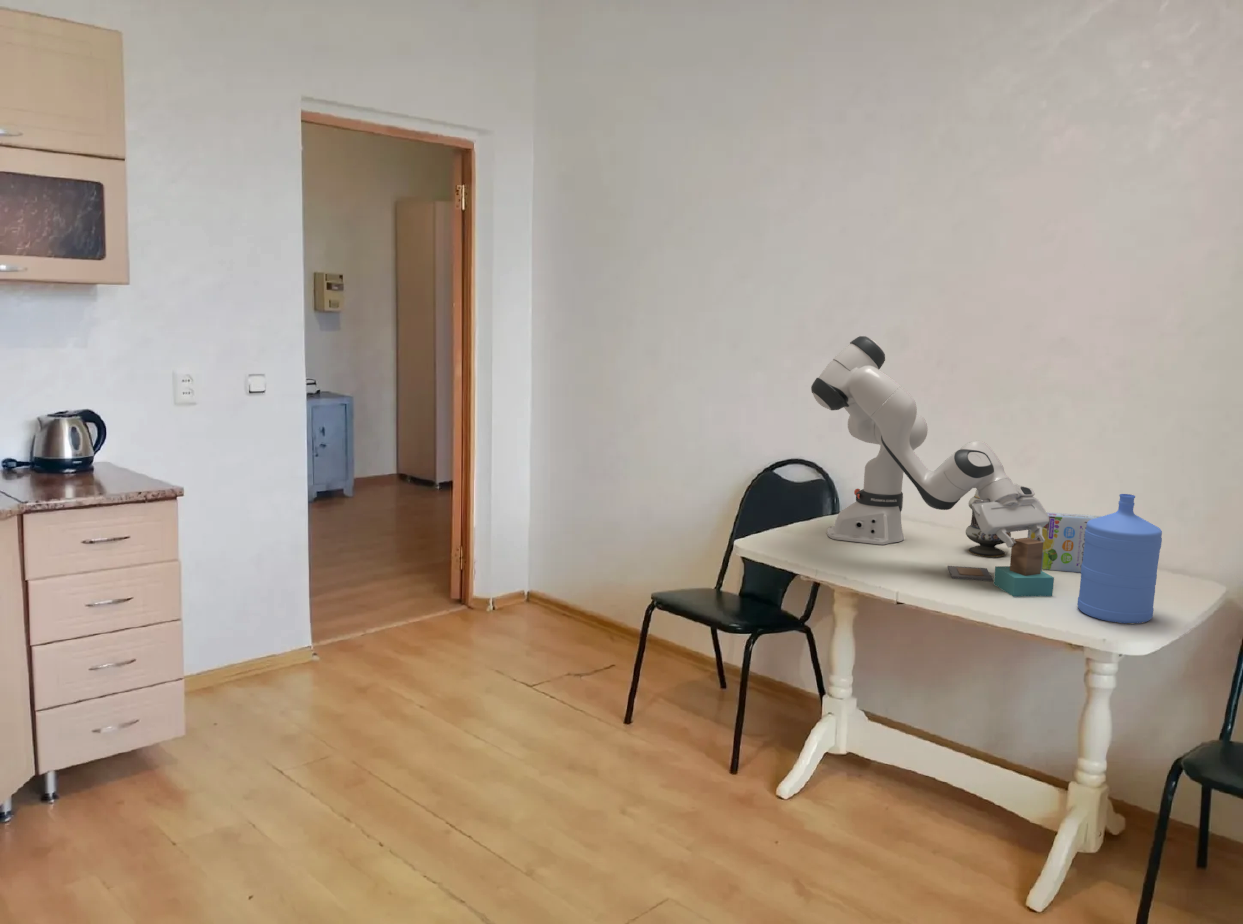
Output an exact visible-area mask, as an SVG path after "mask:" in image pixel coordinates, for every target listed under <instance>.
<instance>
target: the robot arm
mask: <svg viewBox="0 0 1243 924" xmlns="http://www.w3.org/2000/svg"><path fill="white" fill-rule="evenodd" d="M885 361H886V354H885V352H884V350H883V347H881V345H880V344H879V342H877V341H876V340H874V339H872V338H870V337H868V336H866V335H865V336H864V335H863V336H861V335H859V336H858V337H856V338H854V339H852V340H851V341H850V342H849V345H847V346H845V348H843V349H842V350H841V351H840V352H839V353H837V354H836V355H835V356H834V357H833V359H832V360H831V361H830V362H829V363H828V364H827V366H826V367H825V368H824V370H823V371H822V372H821V374H819V376H818V377H816V378H815V379H814V381H813V382H812V385H811V386H810V387H811V388H810V390H811V393H812V395H813V398H814V399H815V401H816V403H818V404H819V405H820V406H821V407H823V408H825V409H827V410H830V411H839V410H841V409H845V411H846V412H847V414H849V416H848V420H847V429H848V432H849V434H850V435H851V437H853V438H855V439H857V440H858V441H862V442H863V443H869V444H874V445H879V446H880V448H879V451H878V453H877V455H876V456H875V457H874V458H872V459H870V460H869V461H867V463H866V464H865V466H864V473H863V474H864V476H863V488H862V489H860V488H855V490H854V495H855V502H853V503H852V504H850V505H849V506H846V507H845V508H844V509H842V510H841V511H840V512H838V514H837V516H836V519H835V523H834V525H833V526H830V527H828V528H827V531H826V535H827V537H829V538H830V539H832V540H837V541H845V542H856V543H862V544H863V543H864V544H872V545H873V544H874V545H880V546H881V545H887V544H892V543H898V542H902V541H904V540H905V537H904V532H903V524H902V511H903V506H904V493H903V478H904V474H905V475H906V477H907V478H908V479H909V480H910V481H911V483H912V484H913V485H914V487H915V488H916V490H917V491H918V494H920V497H921V498H922V500H923V501H924V502H925V504H926V505H927V506H929V507H930V508H932V509H936V510H938V511H939V510H942V511H947V510H951V509H952V508H954V507H955V505H956V504H957V503H958V502H959V501H960V500H961V499H962V498H963V497H964V496H965V495H966V494H968V493H969V492H970V491H971V490H972V489H975V490H977V493H978V496H979V498H980V499H981V500H974V502H973V503H972V509H973V511H974V514H975V518H976V520H977V523H978V525H979V527H980V529H981V531H982V532H983V533H984V534H986V535H988V534H996V535H997V536H998V537H999V538H1000V539H1001V540H1002V541H1004V542H1005V543H1004V544H1005V545H1006V546H1007V548H1008V549H1009V548H1012V547H1014V546H1015V545H1016V542H1015V540H1014V539H1015V538H1014V537H1012V536H1011V537H1010V536H1009V535H1007V534H1006V532H1010V533H1012V532H1022V531H1028V530H1032V532H1033V533H1034V532H1035V538H1034V540H1037V541H1041V542H1044V541H1045V539H1044V537H1043V536H1042V528H1043V527H1044V526H1045V525H1046V524H1048V522H1049V516H1048V514H1047V512H1048V511H1047V510H1046V509H1045V508H1044V506H1043V504H1042V503H1041V501H1040V500H1039V499H1038V498H1037V497H1035V495H1036V493H1035V490H1033V488H1031V487H1027V486H1023V485H1020V484H1017V483H1014V482H1013V481H1012V479H1011V478H1010V476H1008V475H1007V474H1006V472H1005V468H1004V466H1003V464H1002V462H1001V460H1000V459H999V458H998V456H997V454H996V453H995V451H993V449H992V448H991V447H990V446H989V445H988V444H987V443H986V442H985V441H982V440H973V441H969V442H967V443H965V444H964V445H961V448H960V449H958V450H956V451H955V452H952V454H951V455H949V456H948V458H946V459H945V460H944V461H943V462H942V463H941V464H940V465H939V466H938V467H937V468H936V469H935V470H934V471H931V470H929V468H928V467H927V465H925V463H924V461H922V460H921V458H920V457H919V456H918V454H916V452H915V450H916V449H918V448H919V447H920V446H922V444H923V443H924V442H925V441H926V439H927V435H928V430H929V429H928V424H927V422H926V420H925V418H924V417H923V416H922V415H919V414H918V412H917V409H918V408H917V403H916V400H915V399H914V398H913V396H912V395H911V394H910V393H909V392H908V390H906V389H905V388H904V387H902V386H901V384H900V383H898V382H897V381H896V380H895V379H893V378H892V377H890V376H889V375H888V374H886V373H885V372H883V371H882V370H880V369H881V367H883V365H884V363H885ZM972 509H971V510H972Z"/></svg>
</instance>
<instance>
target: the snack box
mask: <svg viewBox="0 0 1243 924" xmlns="http://www.w3.org/2000/svg"><path fill="white" fill-rule="evenodd" d="M1046 512H1047V514H1048V516H1049V522H1048V524H1046V525H1045V526H1044V527H1043V528H1042V536H1043V537H1044V539H1045V541H1044V542H1043V552H1044V555H1043V565H1042V570H1046V571H1047V570H1048V571H1049V570H1050V571H1056V572H1057V571H1059V572H1060V571H1061V572H1070V573H1081V565H1082V562H1083V553H1084V544H1085V539H1084V538H1085V529H1086V525H1087V522H1088V521H1089V520H1092V519H1095V518H1098V517H1102V516H1103V515H1093V514H1080V513H1079V514H1078V513H1062V512H1050V511H1049V512H1048V511H1046ZM1026 538H1031V539H1034V538H1035V532H1034V533H1033V532H1032V530H1027V537H1026Z"/></svg>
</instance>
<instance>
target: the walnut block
mask: <svg viewBox="0 0 1243 924" xmlns="http://www.w3.org/2000/svg"><path fill="white" fill-rule="evenodd" d="M1014 540H1015V542H1016V545H1015V546H1014V547H1011V550H1010V551H1011V552H1010V563H1009V566H1010V571H1013V572H1015V573H1018V574H1021V575H1024V576H1029V575H1036V574H1041V563H1042V552H1043V542H1041V541H1037V540H1034V539H1031V538H1027V537H1022V538H1021V537H1020V538H1014Z"/></svg>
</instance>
